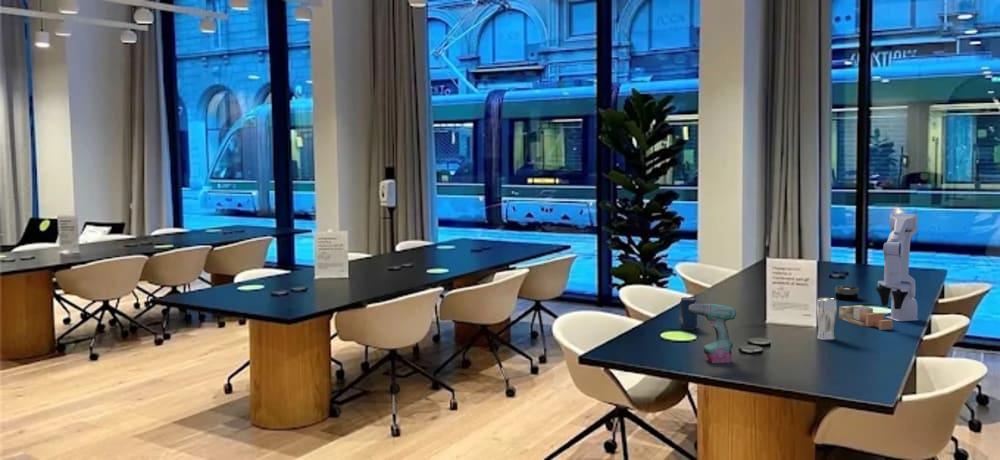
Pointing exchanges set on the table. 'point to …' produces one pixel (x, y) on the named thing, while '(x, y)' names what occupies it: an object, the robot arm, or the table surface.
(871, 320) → the brown stepped block
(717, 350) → the power drill
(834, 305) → the beer glass
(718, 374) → the table surface
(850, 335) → the table surface
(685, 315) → the soda can
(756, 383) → the table surface
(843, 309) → the vise body
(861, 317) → the block
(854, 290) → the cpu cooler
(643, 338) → the table surface
